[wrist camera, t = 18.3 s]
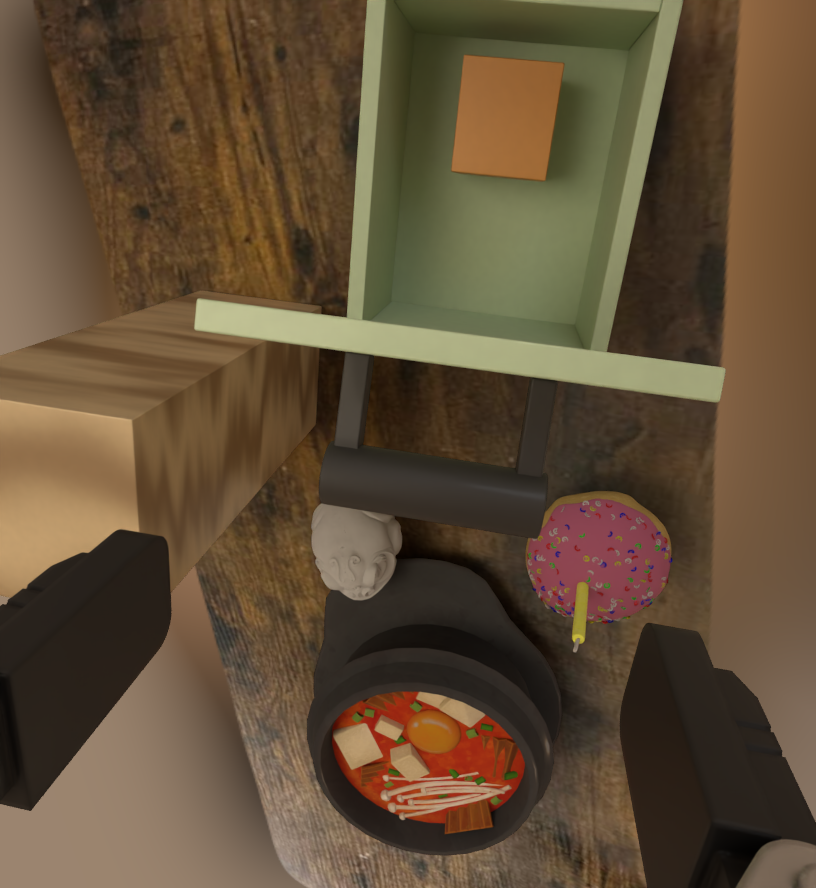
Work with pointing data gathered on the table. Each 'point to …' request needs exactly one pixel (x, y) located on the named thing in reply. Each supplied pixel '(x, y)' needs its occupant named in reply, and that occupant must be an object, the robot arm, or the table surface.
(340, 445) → the lid
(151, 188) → the table surface
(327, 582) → the frog figurine
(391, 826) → the casserole
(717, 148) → the table surface
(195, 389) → the tall wooden pillar
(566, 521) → the cupcake
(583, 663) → the table surface
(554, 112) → the orange rectangular box
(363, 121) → the chest
